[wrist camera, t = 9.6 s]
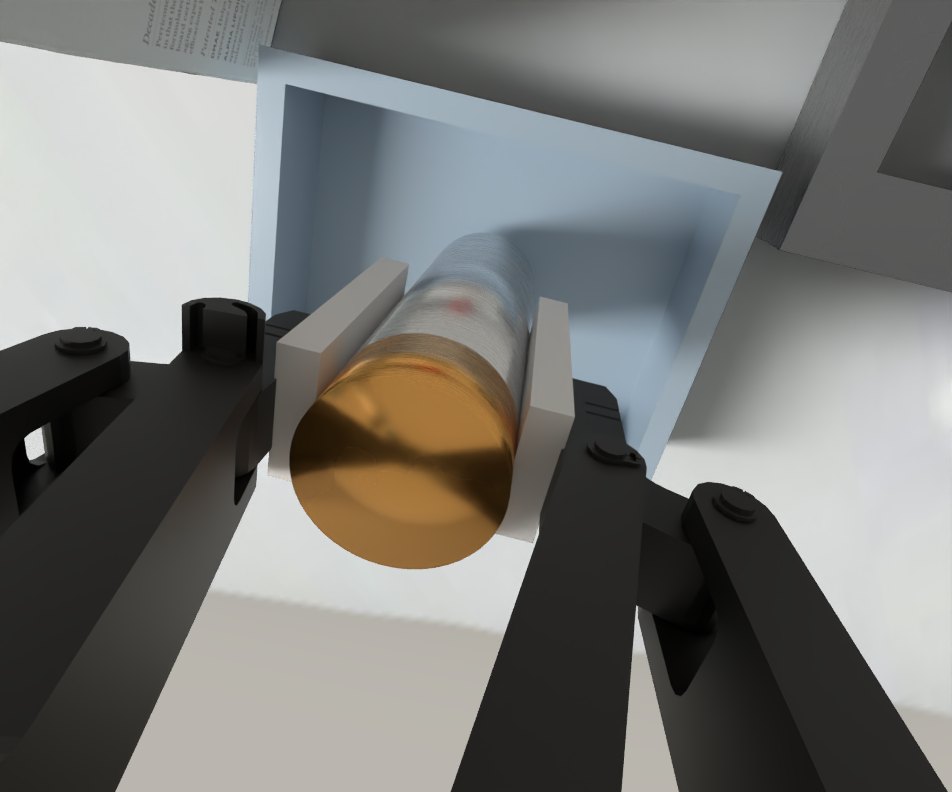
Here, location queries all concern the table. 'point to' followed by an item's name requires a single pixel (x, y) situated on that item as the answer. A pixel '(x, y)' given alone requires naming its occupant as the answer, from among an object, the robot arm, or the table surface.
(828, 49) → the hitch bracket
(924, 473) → the table surface
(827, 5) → the table surface
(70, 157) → the table surface
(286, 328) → the robot arm
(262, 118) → the tray
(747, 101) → the table surface
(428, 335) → the copper top battery
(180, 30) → the skincare box
